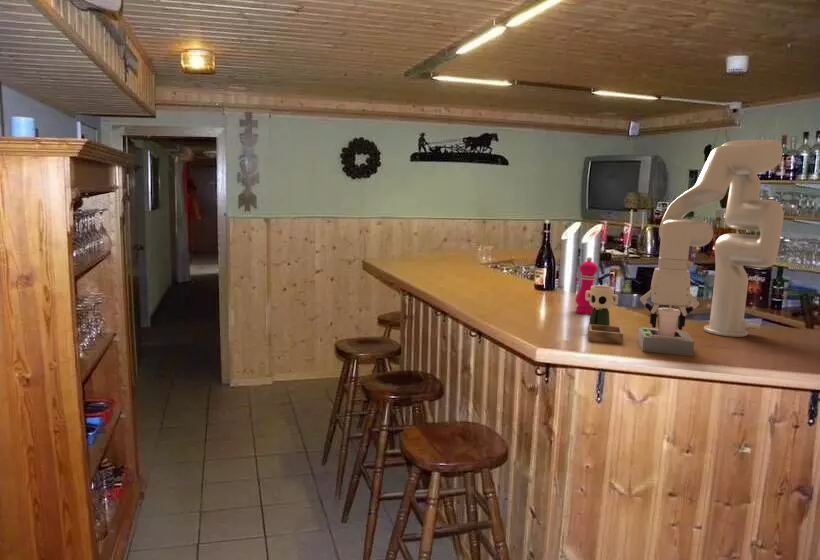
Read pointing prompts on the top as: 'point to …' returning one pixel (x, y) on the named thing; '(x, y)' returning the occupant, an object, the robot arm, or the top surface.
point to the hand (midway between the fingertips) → (666, 327)
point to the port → (665, 342)
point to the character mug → (601, 303)
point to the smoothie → (667, 321)
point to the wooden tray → (605, 333)
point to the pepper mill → (586, 286)
